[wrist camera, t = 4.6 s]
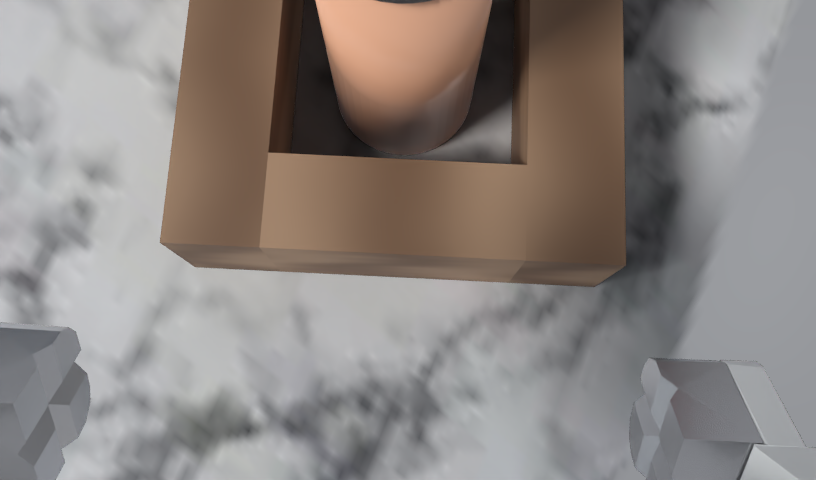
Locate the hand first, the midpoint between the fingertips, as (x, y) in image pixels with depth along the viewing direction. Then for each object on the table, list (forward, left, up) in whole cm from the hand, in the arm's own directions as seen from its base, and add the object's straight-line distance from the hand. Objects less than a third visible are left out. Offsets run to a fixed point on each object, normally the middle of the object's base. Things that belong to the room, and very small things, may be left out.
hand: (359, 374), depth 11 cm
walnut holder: (0, +11, -15) cm, 19 cm away
